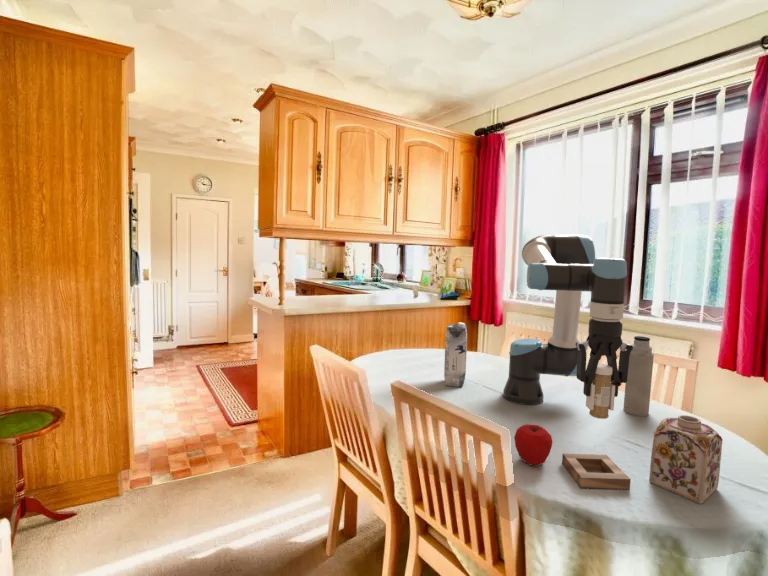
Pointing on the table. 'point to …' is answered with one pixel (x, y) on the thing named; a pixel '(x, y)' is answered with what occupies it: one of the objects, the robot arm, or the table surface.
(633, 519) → the table surface
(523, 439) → the apple
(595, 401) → the sprinkles bottle
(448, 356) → the juice carton
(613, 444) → the table surface
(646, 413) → the thermos bottle
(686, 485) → the decorative jar
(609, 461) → the socket board
